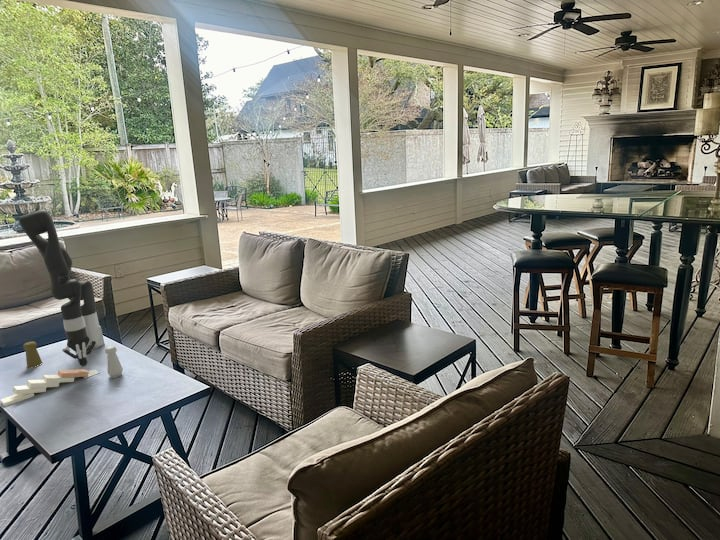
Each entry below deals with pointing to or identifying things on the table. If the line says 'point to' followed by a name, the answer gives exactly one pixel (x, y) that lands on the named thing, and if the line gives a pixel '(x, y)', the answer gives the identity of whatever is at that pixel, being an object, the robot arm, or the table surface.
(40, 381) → the domino
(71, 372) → the domino
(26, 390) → the domino
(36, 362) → the cork
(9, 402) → the domino
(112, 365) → the salt shaker
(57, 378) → the domino
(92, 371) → the block
